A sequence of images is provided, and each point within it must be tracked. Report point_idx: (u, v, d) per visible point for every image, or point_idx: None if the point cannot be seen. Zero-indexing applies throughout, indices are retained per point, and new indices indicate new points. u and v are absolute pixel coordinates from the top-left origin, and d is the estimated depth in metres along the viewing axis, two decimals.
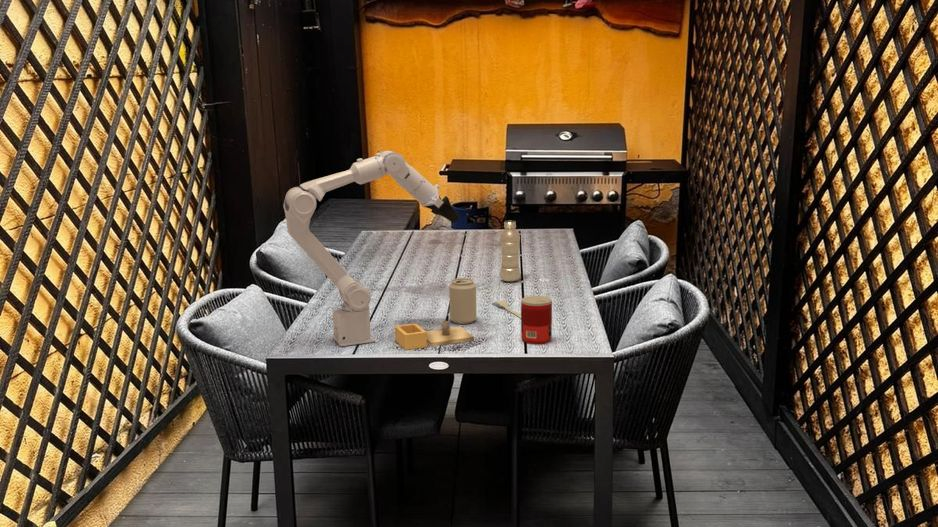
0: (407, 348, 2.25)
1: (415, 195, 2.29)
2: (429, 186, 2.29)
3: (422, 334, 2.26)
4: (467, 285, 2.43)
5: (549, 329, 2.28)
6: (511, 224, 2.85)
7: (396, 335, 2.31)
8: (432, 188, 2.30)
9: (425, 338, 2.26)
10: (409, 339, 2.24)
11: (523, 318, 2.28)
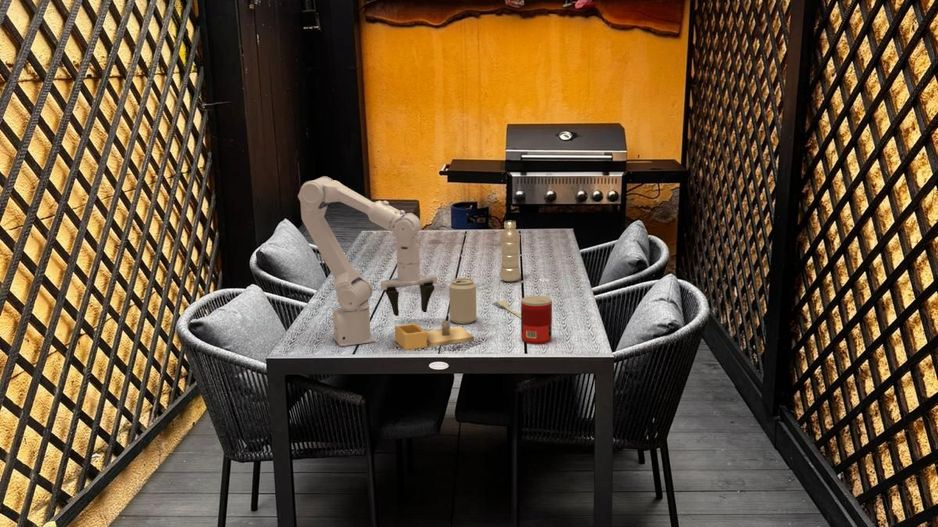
0: (407, 348, 2.25)
1: None
2: (403, 273, 2.23)
3: (422, 334, 2.26)
4: (467, 285, 2.43)
5: (549, 329, 2.28)
6: (511, 224, 2.85)
7: (396, 335, 2.31)
8: (404, 277, 2.23)
9: (425, 338, 2.26)
10: (409, 339, 2.24)
11: (523, 318, 2.28)
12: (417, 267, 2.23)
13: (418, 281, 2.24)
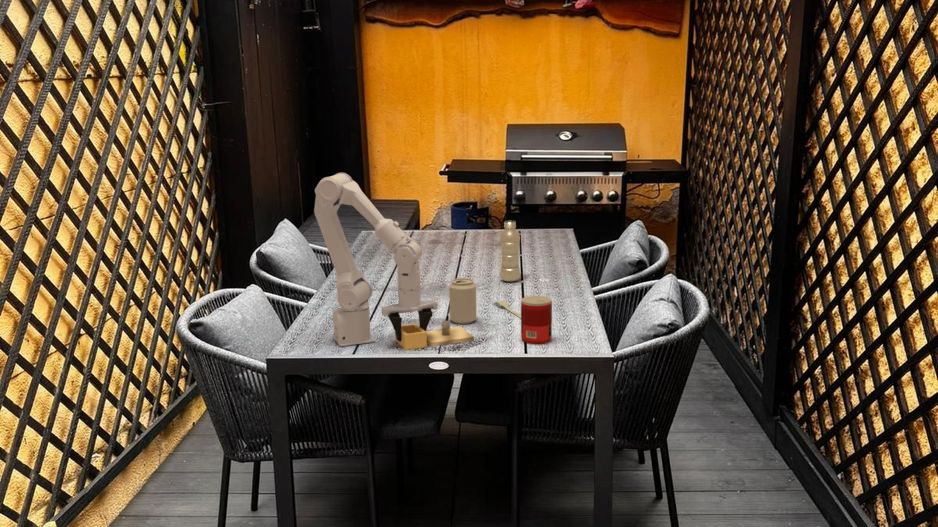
0: (407, 348, 2.25)
1: None
2: (404, 299, 2.24)
3: (422, 334, 2.26)
4: (467, 285, 2.43)
5: (549, 329, 2.28)
6: (511, 224, 2.85)
7: None
8: (405, 303, 2.24)
9: (425, 338, 2.26)
10: (409, 339, 2.24)
11: (523, 318, 2.28)
12: (418, 293, 2.25)
13: (419, 307, 2.25)
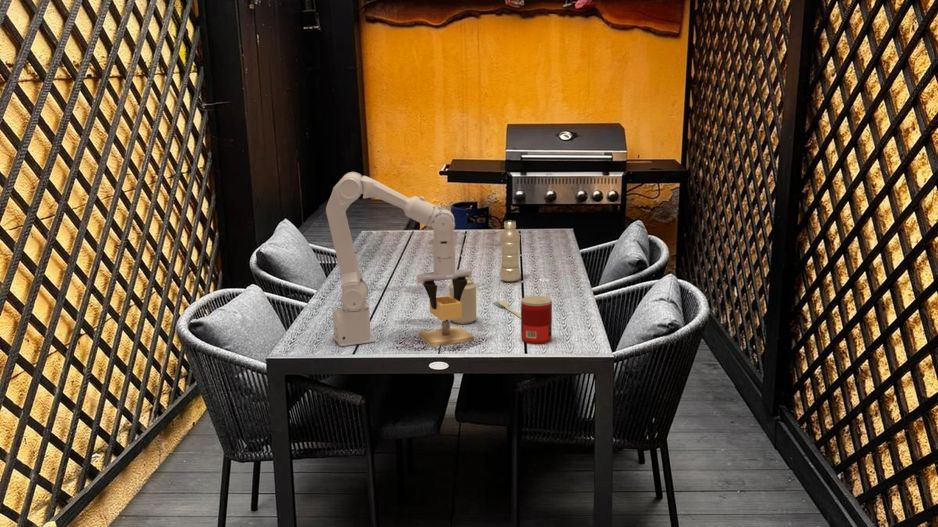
0: (443, 319, 2.27)
1: None
2: (439, 267, 2.27)
3: (458, 305, 2.28)
4: (467, 285, 2.43)
5: (549, 329, 2.28)
6: (511, 224, 2.85)
7: (431, 307, 2.33)
8: (440, 271, 2.27)
9: (460, 309, 2.29)
10: (444, 310, 2.27)
11: (523, 318, 2.28)
12: (453, 261, 2.27)
13: (454, 275, 2.28)
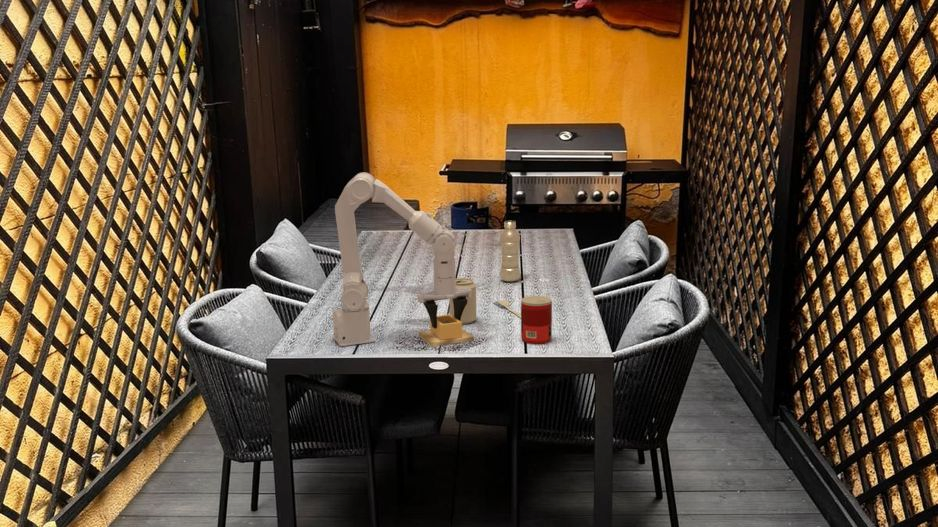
0: (443, 338, 2.29)
1: None
2: (440, 287, 2.28)
3: (458, 324, 2.29)
4: (467, 285, 2.43)
5: (549, 329, 2.28)
6: (511, 224, 2.85)
7: (431, 326, 2.35)
8: (440, 291, 2.28)
9: (460, 328, 2.30)
10: (445, 329, 2.28)
11: (523, 318, 2.28)
12: (453, 281, 2.29)
13: (454, 295, 2.29)
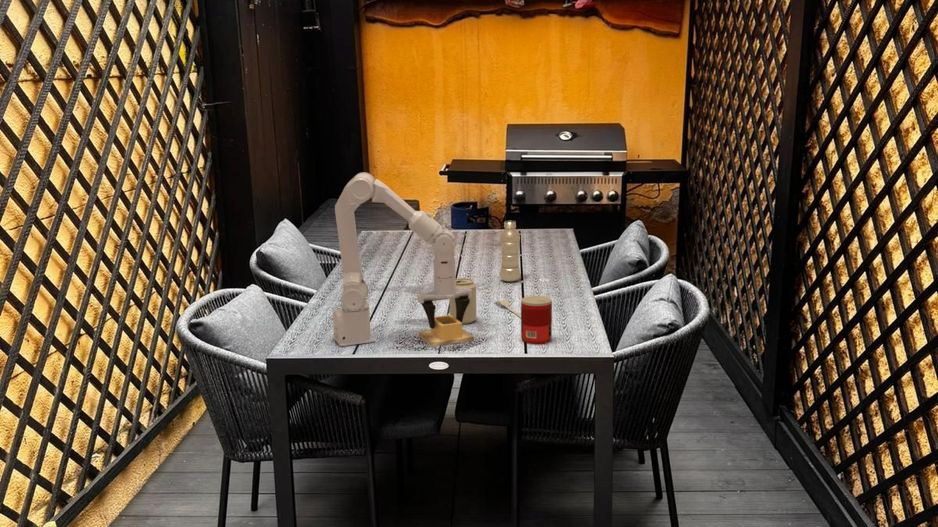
0: (443, 339, 2.29)
1: None
2: (440, 287, 2.28)
3: (458, 325, 2.29)
4: (467, 285, 2.43)
5: (549, 329, 2.28)
6: (511, 224, 2.85)
7: None
8: (440, 291, 2.28)
9: (461, 329, 2.30)
10: (445, 330, 2.28)
11: (523, 318, 2.28)
12: (453, 281, 2.29)
13: (454, 295, 2.29)
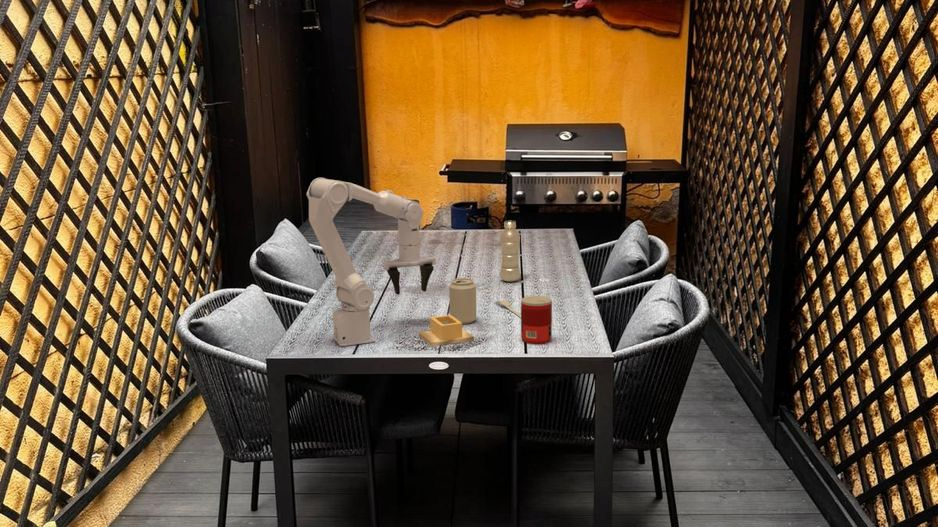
0: (443, 339, 2.29)
1: None
2: (404, 254, 2.37)
3: (458, 325, 2.29)
4: (467, 285, 2.43)
5: (549, 329, 2.28)
6: (511, 224, 2.85)
7: (431, 326, 2.35)
8: (405, 258, 2.37)
9: (461, 329, 2.30)
10: (445, 330, 2.28)
11: (523, 318, 2.28)
12: (417, 248, 2.37)
13: (418, 262, 2.38)
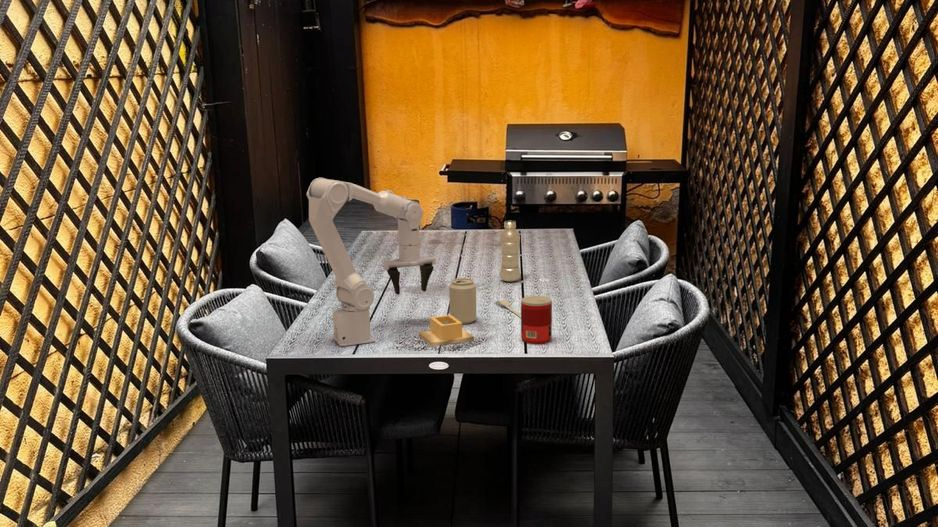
0: (443, 339, 2.29)
1: None
2: (404, 254, 2.37)
3: (458, 325, 2.29)
4: (467, 285, 2.43)
5: (549, 329, 2.28)
6: (511, 224, 2.85)
7: (431, 326, 2.35)
8: (405, 258, 2.37)
9: (461, 329, 2.30)
10: (445, 330, 2.28)
11: (523, 318, 2.28)
12: (417, 248, 2.37)
13: (418, 262, 2.38)
